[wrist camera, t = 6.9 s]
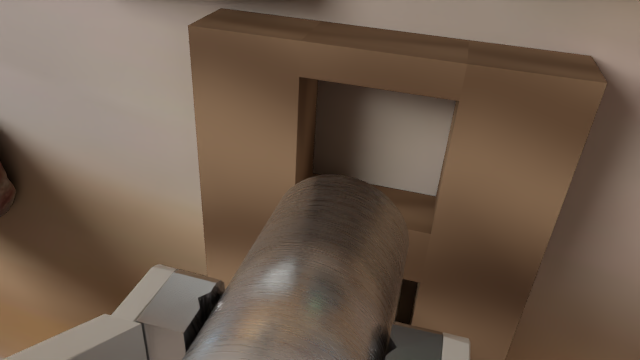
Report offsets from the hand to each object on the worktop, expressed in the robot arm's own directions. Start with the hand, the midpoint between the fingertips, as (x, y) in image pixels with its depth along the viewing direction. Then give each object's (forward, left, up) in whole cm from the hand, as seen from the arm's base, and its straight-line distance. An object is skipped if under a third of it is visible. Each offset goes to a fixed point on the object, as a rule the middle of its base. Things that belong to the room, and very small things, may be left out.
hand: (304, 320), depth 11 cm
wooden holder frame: (+3, 0, -9) cm, 10 cm away
